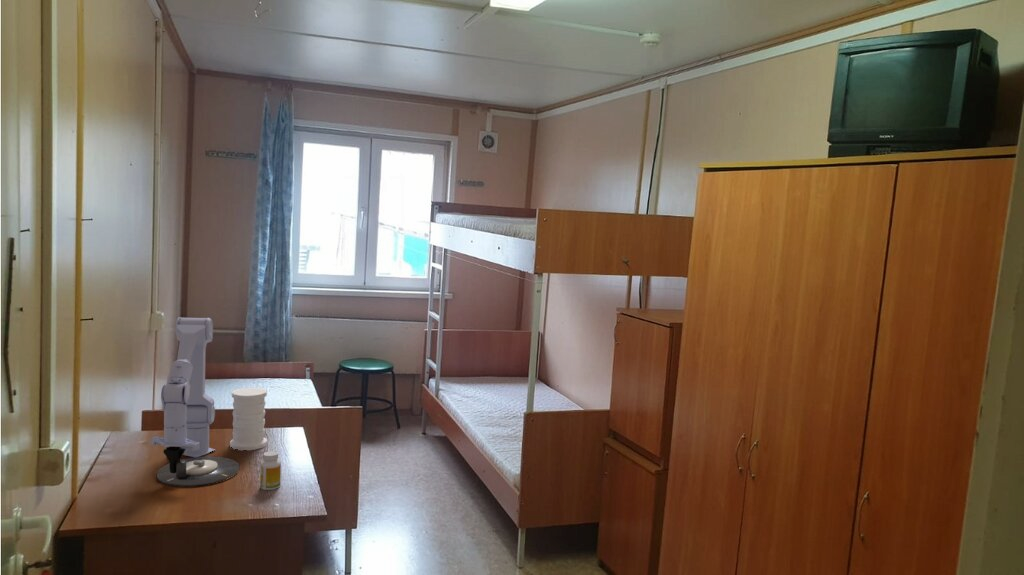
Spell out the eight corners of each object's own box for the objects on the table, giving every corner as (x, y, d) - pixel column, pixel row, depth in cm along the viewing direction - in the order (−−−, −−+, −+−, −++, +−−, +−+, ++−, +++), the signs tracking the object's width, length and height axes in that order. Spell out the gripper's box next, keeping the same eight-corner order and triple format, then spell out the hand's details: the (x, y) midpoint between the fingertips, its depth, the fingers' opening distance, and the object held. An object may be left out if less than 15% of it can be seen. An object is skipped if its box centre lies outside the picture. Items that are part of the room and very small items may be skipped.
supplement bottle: (284, 485, 200) (285, 452, 199) (272, 491, 195) (272, 457, 194) (268, 482, 202) (269, 449, 201) (256, 488, 197) (256, 454, 196)
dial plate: (139, 477, 200) (139, 473, 200) (201, 455, 220) (201, 451, 220) (196, 492, 192) (196, 488, 192) (255, 467, 212) (255, 464, 212)
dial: (195, 461, 212) (195, 446, 212) (224, 465, 210) (224, 450, 209) (162, 476, 199) (162, 461, 198) (193, 481, 196) (193, 465, 196)
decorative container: (251, 452, 225) (252, 397, 223) (222, 447, 229) (222, 393, 227) (274, 442, 236) (275, 389, 234) (246, 437, 240) (246, 385, 238)
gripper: (142, 426, 196) (142, 473, 197) (187, 432, 192) (187, 480, 194) (161, 419, 202) (160, 465, 204) (204, 425, 199) (204, 471, 200)
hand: (175, 472), depth 199 cm, fingers closed, pressing on dial
